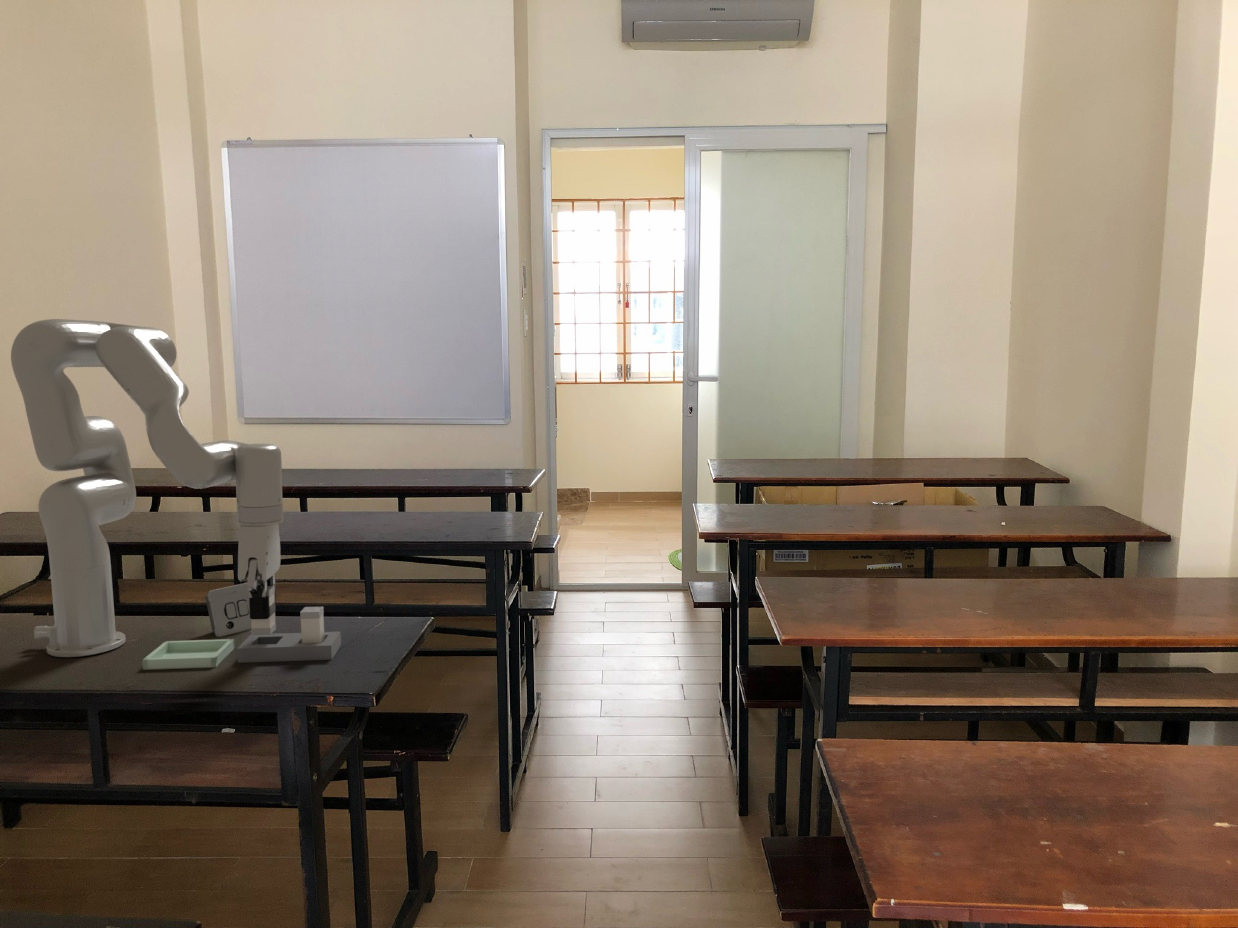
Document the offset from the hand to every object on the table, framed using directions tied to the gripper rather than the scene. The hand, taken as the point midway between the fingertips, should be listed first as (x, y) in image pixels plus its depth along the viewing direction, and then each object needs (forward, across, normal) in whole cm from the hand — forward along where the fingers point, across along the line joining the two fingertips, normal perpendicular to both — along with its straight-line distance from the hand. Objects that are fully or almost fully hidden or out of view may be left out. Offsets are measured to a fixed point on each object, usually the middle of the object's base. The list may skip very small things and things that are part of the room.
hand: (263, 614), depth 160 cm
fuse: (+7, 0, +9) cm, 11 cm away
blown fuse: (+3, 0, 0) cm, 3 cm away
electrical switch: (+8, -16, -10) cm, 21 cm away
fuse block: (+8, 0, +5) cm, 9 cm away
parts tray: (+8, +1, -12) cm, 15 cm away
